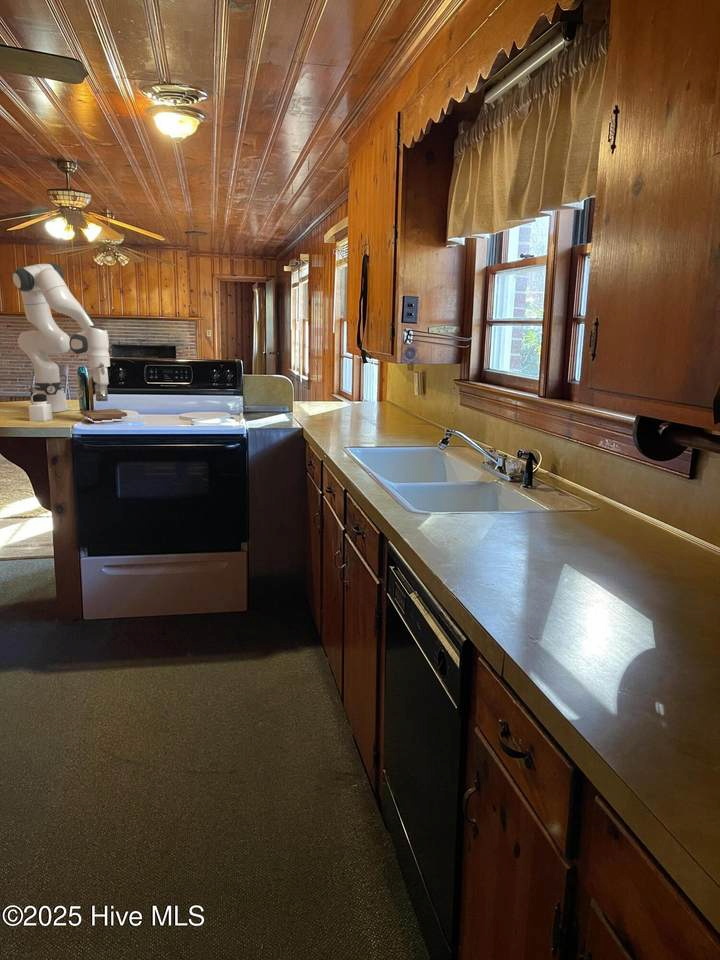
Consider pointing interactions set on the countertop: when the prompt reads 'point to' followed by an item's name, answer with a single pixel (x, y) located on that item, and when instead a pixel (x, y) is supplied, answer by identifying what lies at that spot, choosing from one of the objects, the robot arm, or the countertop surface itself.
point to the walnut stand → (104, 414)
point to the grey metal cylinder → (99, 396)
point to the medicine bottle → (40, 408)
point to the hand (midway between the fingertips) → (101, 393)
